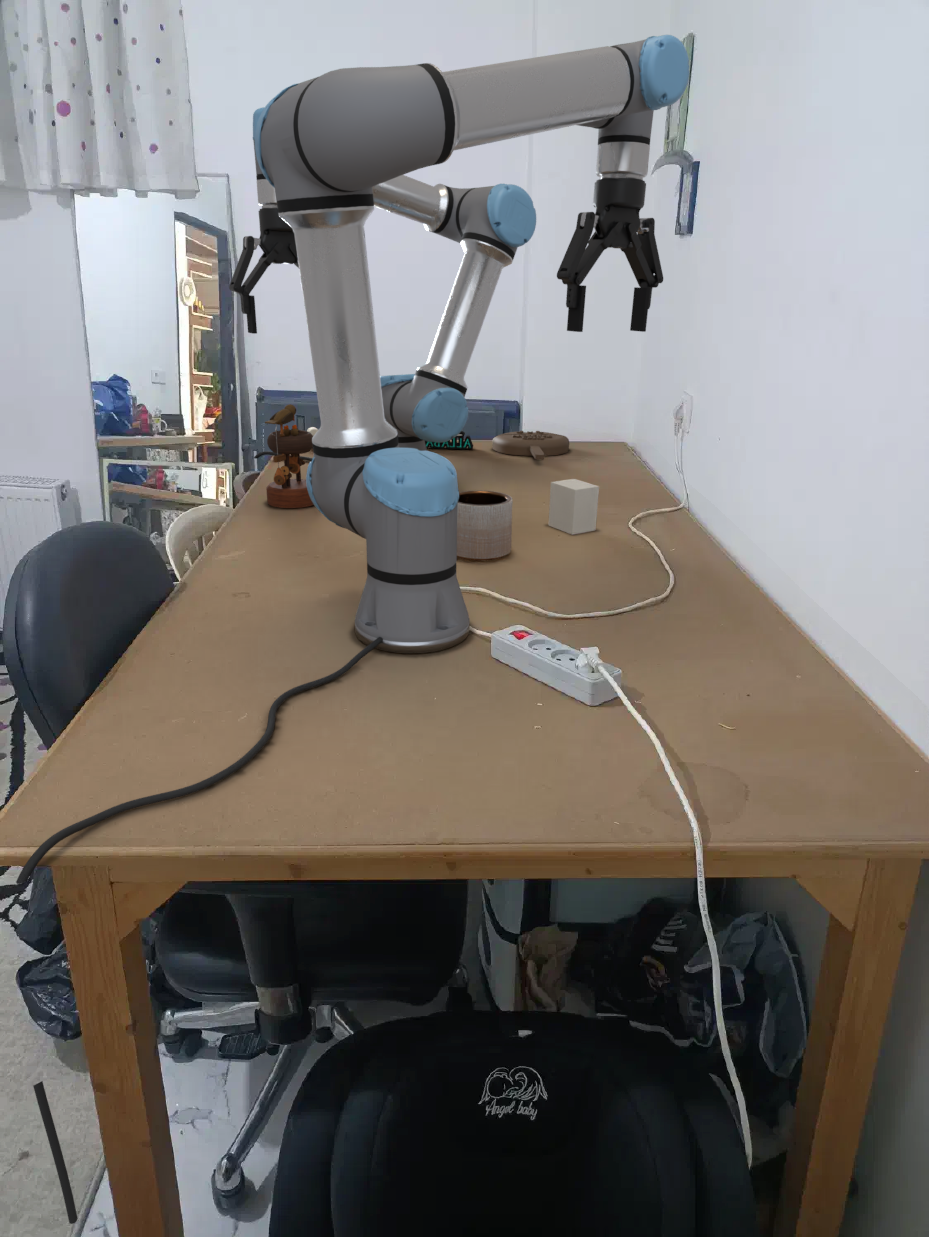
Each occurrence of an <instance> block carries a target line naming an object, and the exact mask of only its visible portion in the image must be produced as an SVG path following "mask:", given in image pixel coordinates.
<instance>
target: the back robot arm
mask: <svg viewBox="0 0 929 1237" xmlns="http://www.w3.org/2000/svg"><path fill="white" fill-rule="evenodd" d="M265 107H266V106H263V107H259V108H256V109H255V110H254V112H253V113H252V140H253V141H252V142H253V151H254V162H255V163H254V164H255V173H256V174H255V175H256V191H257V192H256V193H257V194H256V195H257V205H259V206H261V208H259V210H258V222H259V233H260V234H259V238H258V237H254V236H253V235H245V236H243V238H242V251H241V253H240V256H239V259H238V261H237V264H236V267H235V269H234V272H233V276H232V277H231V279H230V283H229V285H228V289H229V290H230V291H231V292H234V293H236V294H238V295H239V298H240V310H241V313H242V314H243V315H244V314H245V315H246V323H247V333H249V334H254V335H255V334H258V329H257V328H258V327H257V326H258V325H257V313H256V300H255V299H256V298H255V295H251V293H252V291H253V289H255V287H256V285H257V284H258V283H259V281H260V279H261V278H262V277H263V275H264V274H265V272H266V271H267V269H268V268H269V267H270V266H271V265H273V264H274V265H281V264H283V265H294V266H295V267H297V268H298V269H299V264H298V257H297V250H296V242H295V235H294V231H293V229H292V228H291V227H290V226H289V225H288V224H287V223H286V222H285V221H284V220H283V219H282V218H280V217H279V213H278V206H277V201H276V194H275V188H274V187H273V186H272V185H271V184H270V183H269V181H267V179H266V178H265V176H264V175H263V173H262V171H261V169H260V167H259V164H258V161H257V157H256V152H255V131H256V126H257V122H258V120H259V117H260V115H261V113H262V111H263V110H264V108H265ZM372 189H373V199H374V208H378V209H380V210H383V211H386V212H389V213H392V214H394V215H398V216H400V217H403V218H406V219H409V220H412V221H414V222H417V223H420V224H422V225H423V227H424V229H425V230H426V231H428V232H430V233H433V234H436V235H439V236H441V237H443V238H446V239H449V240H450V241H453V242H456V243H458V244H460V246H461V248H462V250H463V256H462V259H461V262H460V265H459V268H458V271H457V274H456V277H455V279H454V282H453V285H452V288H451V290H450V293H449V297H448V300H447V303H446V305H445V308H444V311H443V314H442V317H441V320H440V322H439V326H438V328H437V332H436V334H435V337H434V341H433V343H432V346H431V348H430V352H429V355H428V358H427V361H426V363H425V364H422V365H421V366H419V367H417V368H416V371H415V373H408V374H391V375H380V380H381V389H382V399H383V408H384V417H385V420H386V421H387V422H388V423H389V424H390V425H392V426H393V427H394V428H395V429H396V430H397V433H398V442H399V448H415V449H418V450H420V451H428V448H426V445H425V441H428V442H446V441H449V440H450V441H452V440H451V439H453V438H454V437H456V436H457V435H458V434H459V433H460V432H461V431H463V429H464V427H465V426H466V424H467V421H468V419H469V418H468V417H469V407H468V405H467V404H468V401H467V399H466V398H465V397H466V394H467V391H468V388H469V387H468V385H467V383H466V380H465V376H466V373H467V370H468V367H469V365H470V362H471V359H472V356H473V353H474V351H475V348H476V344H477V342H478V339H479V336H480V333H481V330H482V327H483V325H484V322H485V319H486V317H487V314H488V311H489V308H490V305H491V302H492V299H493V296H494V294H495V291H496V288H497V285H498V282H499V280H500V277H501V274H502V271H503V269H504V268H506V267H508V266H510V265H512V264H513V262H514V259H515V256H516V254H517V250H518V248H519V247H523V246H525V244H527V243H528V242H529V241H530V240H531V239H532V237H533V236H534V233H535V231H536V228H537V212H536V211H537V210H536V208H535V206H534V201H533V199H532V198H531V196H530V194H529V193H528V192H527V191H526V190H525V189H524V188H522V187H521V186H519V185H517V184H511V183H509V184H507V183H498V184H495V185H489V186H480V187H470V188H469V187H468V188H467V187H466V188H465V187H464V188H461V187H460V188H459V187H452V186H448V185H445V184H443V183H437V184H435V185H434V186H433V185H432V184H428V183H425V182H423V181H420V180H418V179H415V178H413V177H410V176H407V175H406V174H404V175H401V176H398V177H396V178H393V179H391V180H388V181H386V182H383V183H381V184H378V185H376V186H373V187H372ZM258 247H259V248H260V249H261V251H262V252H263V253H262V254H261V256H260V257H259V259H258V261H257V263H256V264H255V266H254V267H253V269H252V270H251V272H250V274H248V276H247V278H246V279H245V277H246V275H247V271H248V269H249V266H250V264H251V262H252V258H253V255H254V252H255V251H257V249H258ZM244 280H245V281H244ZM266 455H267V456H276V455H277V453H274V452H273V451H271V450H264V451H261V452H258V453H257V454H256V455H255V456H254V457H253V459H259V458H260V457H262V456H266ZM278 455H280V454H278ZM290 457H291V456H290ZM300 458H301V459H302V460H304V461H308V462H311V461H312V459H313V457H310V456H303V455H300Z"/></svg>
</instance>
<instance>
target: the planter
mask: <svg viewBox="0 0 929 1237" xmlns="http://www.w3.org/2000/svg"><path fill="white" fill-rule="evenodd" d="M512 530H513V497H512V496H511V495H509V494H507V493H504V492H499V491H494V490H482V489H480V490H476V489H475V490H462V491H459V499H458V507H457V559H458V558H459V559H461V560H466V561H471V562H472V561H473V562H488V561H496V560H499V559H502V558H505V557H506V556H508V555H509V554H510V553H511V551H512V536H513V533H512V532H513V531H512Z"/></svg>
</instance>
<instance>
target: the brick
mask: <svg viewBox="0 0 929 1237" xmlns="http://www.w3.org/2000/svg"><path fill="white" fill-rule="evenodd" d="M549 489H550V490H549V492H550V493H549V510H548V526H549V527H551V528H554V529H556V530H559V531H562V532H564V533H567V534H569V535H571V536H572V535H573V536H574V535H579V534H584V533H589V532H594V531H596V530H597V518H598V508H599V507H598V506H599V495H600V494H599V493H600V492H599V491H600V486H599V485H596V484H593V483H589V482H587V481H583V480H580V479H577V478H571V479H570V478H569V479H562V480H556V481H555V480H554V481H550V488H549Z"/></svg>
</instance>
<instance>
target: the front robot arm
mask: <svg viewBox="0 0 929 1237" xmlns="http://www.w3.org/2000/svg"><path fill="white" fill-rule="evenodd" d="M689 80H690V58H689V54H688V50H687V49H686V47H685V45H684V43H683V42H682V41H681V39H679V38H678V37H676V36H674V35H672V34H662V35H658V36H657V35H652V36H648V37H646V39H641V40H637V41H631V42H626V43H625V42H624V43H620V44H619V43H618V44H614V45H609V46H608V45H606V46H599V47H592V48H587V49H580V50H574V51H567V52H561V53H554V54H548V55H543V56H536V57H535V56H534V57H529V58H523V59H517V60H510V61H504V62H496V63H491V64H484V65H479V66H472V67H466V68H459V69H453V70H452V69H451V70H447V71H446V70H445V71H442V70H441V69H440V68H439V67H438V66H436V64H433V63H431V62H426V63H416V64H409V65H396V66H395V65H394V66H393V65H392V66H359V67H358V66H357V67H343V68H338V69H334V70H330V71H328V72H326V73H323V74H321V75H320V76H316V77H313V78H310V79H308V80H304V81H302V82H299V83H293V84H291V85H289V86H287V87H285V88H284V89H282V90H281V91H279V92H278V93H277V94H276V95H275V96H274V97H273V98H272V99H271V100H269V101H268V102H267V104H266V105H265V106H264V107H265V108H264V110H263V111H262V113H261V115H260V117H259V120H258V122H257V126H256V131H255V152H256V157H257V161H258V164H259V167H260V169H261V171H262V173H263V175H264V176H265V178H266V179H267V181H269V183H270V184H271V185H272V186H273V187H274V188H275V194H276V201H277V206H278V213H279V217H280V218H282V219H283V220H284V221H285V222H286V223H287V224H288V225H289V226H290V227H291V228H292V229H293V231H294V235H295V242H296V250H297V257H298V264H299V268H298V270H299V277H300V284H301V285H300V286H301V291H302V299H303V306H304V312H305V319H306V327H307V334H308V341H309V348H310V356H311V361H312V368H313V375H314V383H315V391H316V398H317V404H318V411H319V420H320V426H319V428H318V431H317V432H316V434H315V435H314V436H313V438H312V445H313V448H312V451H313V452H312V453H313V456H312V458H313V459H312V461H309V462H308V465H307V469H306V474H305V480H306V484H307V490H308V493H309V496H310V499H311V500H312V502H313V504H314V505H313V506H314V507H315V508H316V510H317V511H318V512H320V513H321V515H323V516H324V517H325V518H326V519H327V520H328V521H329V522H331V523H333V524H334V525H336V526H337V527H340V528H342V529H346V530H347V531H350V532H351V533H353V534H355V535H357V536H359V537H361V538H362V539H364V540H365V543H366V544H365V545H366V547H365V548H366V579H365V584H364V586H363V589H362V592H361V596H360V600H359V602H358V606H357V609H356V612H355V618H354V633H355V636H356V638H357V639H358V640H359V641H360V642H362V643H363V644H365V645H367V646H365V647H364V648H363V649H362V650H361V651H359V652H358V653H357V654H355V656H353V657H352V658H351V659H350V660H349V661H348V662H347V663H346V664H345V665H343V666H342V667H340V668H339V669H337V670H336V671H334V672H332V673H331V674H328V675H326V676H324V677H321V678H318V679H315V680H312V681H309V682H306V683H303V684H300V685H297V686H295V687H293V688H290V689H288V690H287V691H285V692H284V693H282V694H280V695H279V696H278V697H277V698H275V700H274V701H273V702H272V705H271V706H270V708H269V712H268V715H267V716H268V717H267V723H266V724H267V725H266V729H265V731H264V733H263V735H262V736H261V737H260V739H258V741H257V742H256V743H255V744H254V745H253V746H252V748H250V750H248V751H247V753H245V754H244V755H243V756H242V757H240V758H239V759H238V760H237V761H235V762H233V763H232V764H230V766H228V767H226V768H225V769H223V770H221V771H219V772H217V773H215V774H214V775H212V776H210V777H207V778H205V779H203V780H201V781H199V782H196V783H193V784H191V785H188V786H185V787H181V788H178V789H175V790H170V791H169V790H168V791H165V792H162V793H157V794H152V795H148V796H144V797H140V798H136V799H132V800H129V801H126V802H122V803H120V804H117V805H114V806H112V807H110V808H107V809H104V810H102V811H101V812H98V813H97V814H93V815H92V816H89V817H87V818H84V819H82V820H79V821H77V822H75V823H73V824H71V825H68V826H67V827H64V828H62V829H61V830H59V831H57V832H56V833H53V834H52V835H51V836H49V837H48V838H47V839H46V840H45V841H44V842H42V844H40V845H39V847H37V849H36V850H35V851H34V852H33V854H32V855H31V856H30V858H29V859H28V860H27V862H26V863H25V865H24V866H23V867H22V869H21V871H20V872H19V875H18V877H17V879H16V881H15V883H16V884H17V885H21V884H24V883H26V882H27V881H28V880H29V878H30V876H31V875H32V874H33V871H34V870H35V868H36V867H37V866H38V864H39V862H41V860H42V859H43V858H44V856H45V855H47V853H49V851H50V850H51V849H52V848H53V847H54V846H56V845H57V844H58V843H60V842H61V841H63V840H65V839H67V838H69V837H70V836H72V835H74V834H76V833H78V832H80V831H83V830H86V829H87V828H90V827H92V826H94V825H96V824H98V823H101V822H103V821H106V820H108V819H110V818H112V817H114V816H117V815H119V814H122V813H125V812H127V811H130V810H134V809H137V808H141V807H144V806H149V805H152V804H157V803H162V802H165V801H170V800H174V799H178V798H181V797H185V796H188V795H192V794H194V793H198V792H200V791H202V790H205V789H206V788H209V787H211V786H213V785H215V784H217V783H219V782H220V781H222V780H224V779H226V778H228V777H230V776H231V775H232V774H234V773H236V772H238V771H239V770H240V769H241V768H243V767H245V766H246V765H247V764H248V763H249V762H250V761H251V760H252V759H254V758H255V756H257V755H258V754H259V752H260V751H261V750H262V749H263V748H264V747H265V746H266V745H267V743H268V742H269V741H270V739H271V737H272V735H273V733H274V731H275V726H276V715H277V711H278V710H279V708H280V707H281V705H282V704H283V703H284V702H285V701H287V700H288V699H289V698H291V697H293V696H295V695H297V694H299V693H301V692H305V691H307V690H310V689H313V688H317V687H319V686H323V685H325V684H328V683H330V682H332V681H334V680H336V679H338V678H340V677H342V676H343V675H344V674H346V673H347V672H349V671H350V670H351V669H352V668H353V667H355V665H356V664H358V663H359V662H360V661H361V660H363V658H364V657H365V656H367V655H368V654H369V653H370V652H372V651H373V650H374V649H377V650H380V651H384V652H390V653H396V654H397V653H398V654H425V653H433V652H439V651H443V650H446V649H449V648H452V647H455V646H457V645H458V644H460V643H462V642H463V641H464V640H466V639H467V637H468V636H469V634H470V616H469V612H468V608H467V606H466V601H465V599H464V596H463V593H462V589H461V586H460V583H459V581H458V577H457V561H458V560H457V559H458V557H457V507H458V499H459V492H460V491H459V490H460V489H459V484H458V483H459V482H458V473H457V470H456V468H455V466H454V464H453V463H452V462H451V461H450V460H449V459H448V458H446V457H445V456H443V455H441V454H439V453H436V452H433V451H429V450H427V451H420V450H418V449H415V448H399V442H398V433H397V430H396V429H395V428H394V427H393V426H392V425H390V424H389V423H388V422H387V421H386V420H385V417H384V408H383V399H382V389H381V380H380V376H381V372H380V362H379V354H378V345H377V335H376V326H375V325H376V324H375V317H374V306H373V298H372V297H373V296H372V289H371V280H370V279H371V278H370V269H369V261H368V251H367V243H366V232H365V231H366V230H365V224H366V221H367V220H368V219H369V217H370V216H371V215H372V214H373V212H374V211H375V207H374V199H373V189H372V187H373V186H376V185H378V184H381V183H383V182H386V181H388V180H391V179H393V178H396V177H398V176H401V175H406V174H409V173H411V172H414V171H417V170H420V169H421V170H422V169H424V168H427V167H431V166H437V165H441V164H443V163H446V162H448V161H449V159H450V158H451V156H452V155H453V153H454V151H459V150H463V149H468V148H472V147H477V146H483V145H486V144H492V143H497V142H502V141H506V140H512V139H515V138H521V137H525V136H526V137H527V136H530V135H535V134H540V133H544V132H549V131H554V130H559V129H563V128H569V127H574V126H579V127H585V128H592V129H595V130H596V129H597V130H598V133H597V134H598V135H597V151H596V152H597V154H596V165H595V176H596V177H599V179H596V180H595V182H594V186H593V187H594V189H593V198H592V206H593V207H594V208H595V211H583V212H582V211H581V212H579V213H578V214H577V220H576V227H575V230H574V232H573V235H572V237H571V239H570V241H569V244H568V247H567V249H566V251H565V253H564V256H563V258H562V260H561V263H560V265H559V268H558V270H557V272H556V278H557V279H558V280H561V282H562V284H563V285H566V297H565V298H566V300H565V306H566V308H568V310H567V312H568V313H567V321H566V322H567V324H566V331H567V332H573V333H575V332H576V333H583V330H584V318H585V306H586V304H585V303H586V294H587V285H581V284H583V282H584V281H585V279H586V277H587V276H588V274H589V273H590V271H592V269H593V267H594V265H595V264H596V262H598V260H599V258H600V257H601V255H602V254H603V252H604V251H605V250H607V249H610V248H612V249H619V250H620V251H621V252H622V253H624V255H625V258H626V259H627V262H628V264H629V266H630V269H631V271H632V273H633V275H634V278H635V280H636V283H637V284H638V287H637V286H635V287H634V288H633V296H632V308H631V317H630V326H629V327H630V329H629V331H632V332H642V333H643V332H644V333H646V331H647V323H648V312H649V310H650V308H651V303H652V295H653V289H654V288H658V287H659V284H663V282H664V274H663V269H662V265H661V259H660V255H659V249H658V244H657V240H656V234H655V230H656V229H655V228H656V227H655V226H656V225H655V223H656V220H655V218H654V217H641V218H640V212H641V209H643V208H644V206H645V201H646V199H645V198H646V190H647V183H646V181H645V180H644V178H646V177H647V176H648V172H649V163H650V162H649V161H650V160H649V159H650V152H651V151H650V150H651V137H652V128H653V120H654V112H655V111H658V110H661V109H662V108H666V107H669V106H672V105H674V104H676V103H677V102H678V101H679V100H680V99H681V98H682V96H683V95H684V93H685V92H686V89H687V86H688V83H689ZM593 231H594V232H593ZM32 1086H33V1090H34V1094H35V1097H36V1101H37V1105H38V1109H39V1112H40V1115H41V1116H40V1117H41V1120H42V1123H43V1126H44V1129H45V1133H46V1137H47V1140H48V1144H49V1147H50V1150H51V1154H52V1157H53V1161H54V1165H55V1169H56V1173H57V1176H58V1180H59V1184H60V1188H61V1193H62V1197H63V1200H64V1205H65V1211H66V1215H67V1218H68V1223H69V1224H70V1225H73V1224H76V1222H78V1212H77V1209H76V1204H75V1199H74V1194H73V1189H72V1186H71V1182H70V1178H69V1174H68V1170H67V1166H66V1162H65V1159H64V1155H63V1151H62V1148H61V1144H60V1140H59V1136H58V1134H57V1128H56V1126H55V1123H54V1122H55V1121H54V1119H53V1115H52V1112H51V1108H50V1104H49V1101H48V1098H47V1097H48V1096H47V1093H46V1089H45V1086H44V1081H43V1080H42V1081H39V1082H37V1083H35V1084H34V1085H32Z"/></svg>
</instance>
